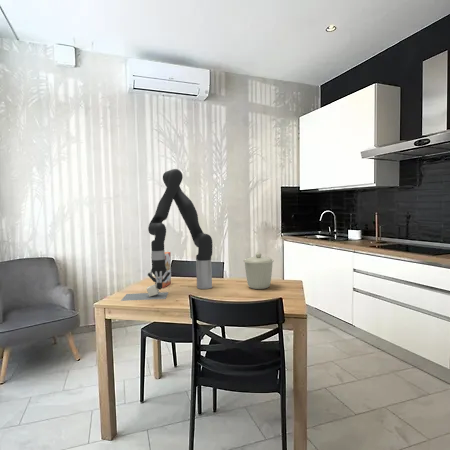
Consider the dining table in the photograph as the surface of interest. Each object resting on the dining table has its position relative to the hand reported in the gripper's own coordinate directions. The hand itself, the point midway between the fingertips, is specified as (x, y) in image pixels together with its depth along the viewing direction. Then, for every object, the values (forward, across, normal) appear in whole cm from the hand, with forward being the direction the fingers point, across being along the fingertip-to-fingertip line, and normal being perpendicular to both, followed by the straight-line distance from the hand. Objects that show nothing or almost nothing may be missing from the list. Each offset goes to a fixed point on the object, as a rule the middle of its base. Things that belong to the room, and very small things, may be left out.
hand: (159, 289), depth 184 cm
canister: (+5, -58, -11) cm, 59 cm away
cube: (+3, +3, 0) cm, 4 cm away
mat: (+4, +8, 0) cm, 9 cm away
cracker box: (+4, +1, -25) cm, 25 cm away
